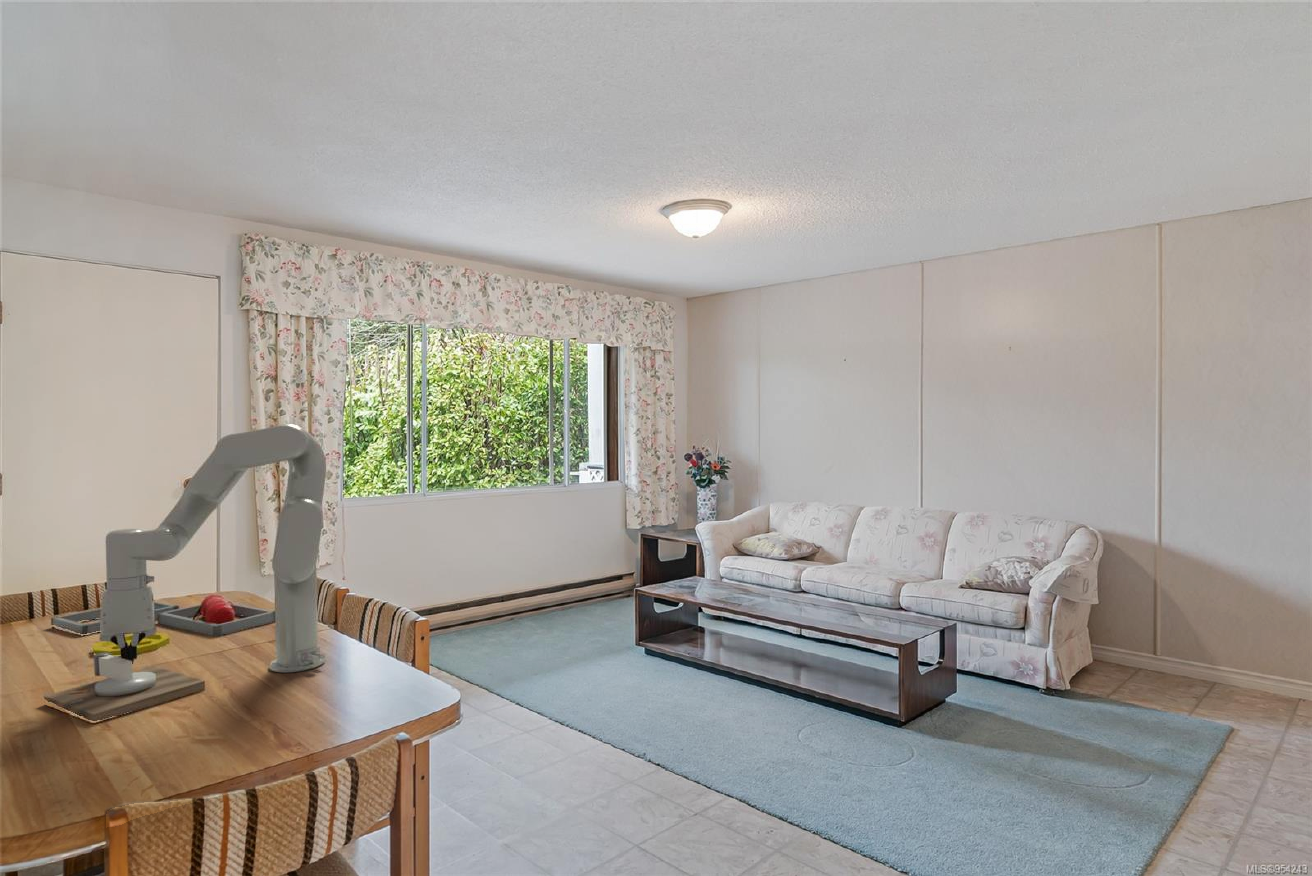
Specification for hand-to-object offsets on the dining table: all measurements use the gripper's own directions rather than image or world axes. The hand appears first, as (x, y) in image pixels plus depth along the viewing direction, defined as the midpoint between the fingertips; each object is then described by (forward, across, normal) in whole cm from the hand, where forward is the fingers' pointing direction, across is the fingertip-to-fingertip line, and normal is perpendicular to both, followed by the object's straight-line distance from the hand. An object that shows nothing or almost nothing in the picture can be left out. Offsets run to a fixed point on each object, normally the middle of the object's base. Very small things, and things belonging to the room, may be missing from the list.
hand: (129, 662), depth 172 cm
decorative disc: (+6, +2, -39) cm, 39 cm away
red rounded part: (+6, -17, -56) cm, 58 cm away
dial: (+4, +2, +4) cm, 6 cm away
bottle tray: (+6, -18, -56) cm, 59 cm away
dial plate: (+6, 0, +7) cm, 9 cm away
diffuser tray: (+6, +8, -75) cm, 76 cm away
